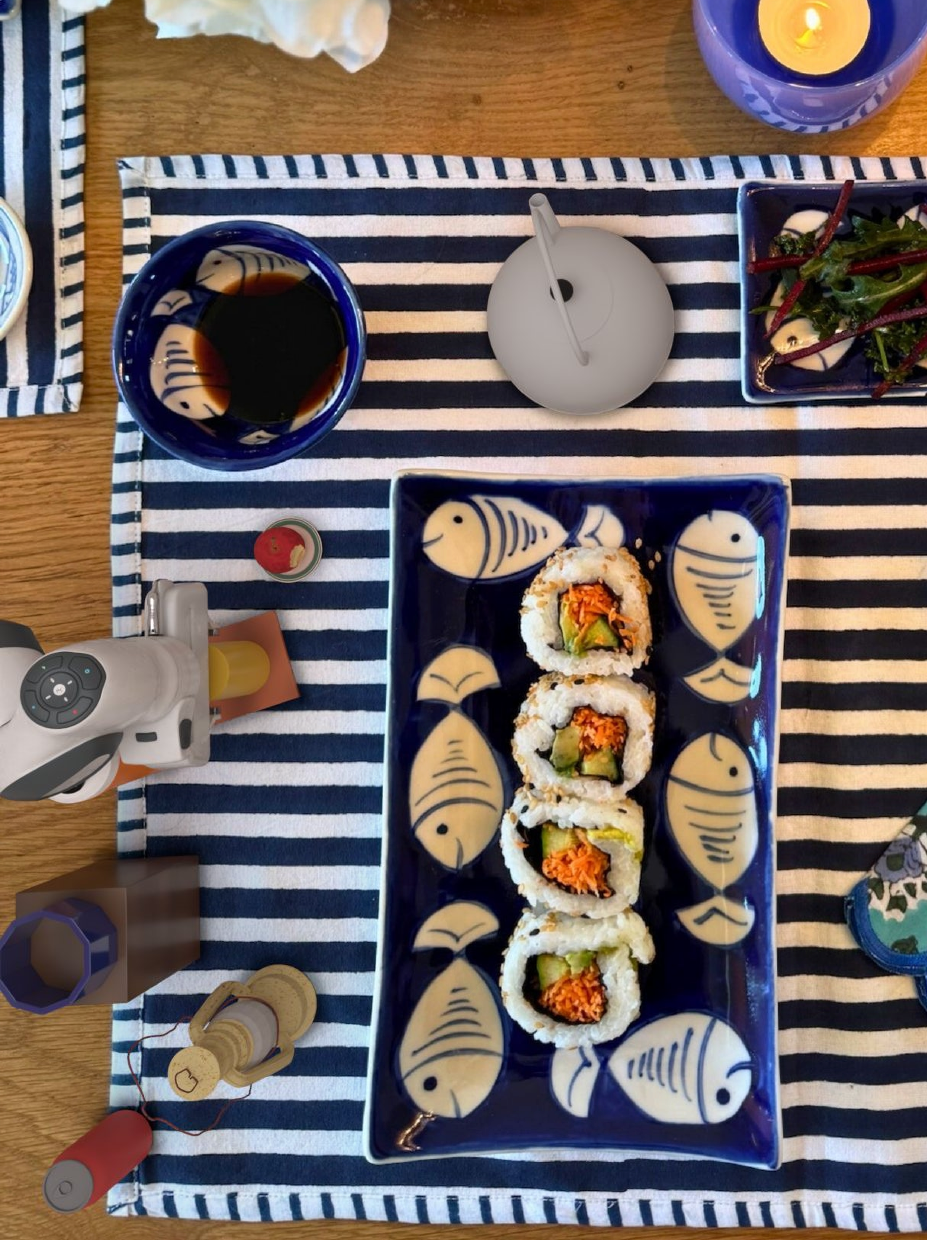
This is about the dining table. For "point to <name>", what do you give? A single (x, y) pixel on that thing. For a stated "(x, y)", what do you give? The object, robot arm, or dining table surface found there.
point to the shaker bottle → (105, 780)
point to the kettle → (579, 317)
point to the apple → (288, 549)
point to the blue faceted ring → (15, 977)
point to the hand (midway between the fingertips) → (214, 671)
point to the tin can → (236, 669)
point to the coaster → (281, 673)
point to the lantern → (241, 1034)
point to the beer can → (97, 1162)
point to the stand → (120, 924)
